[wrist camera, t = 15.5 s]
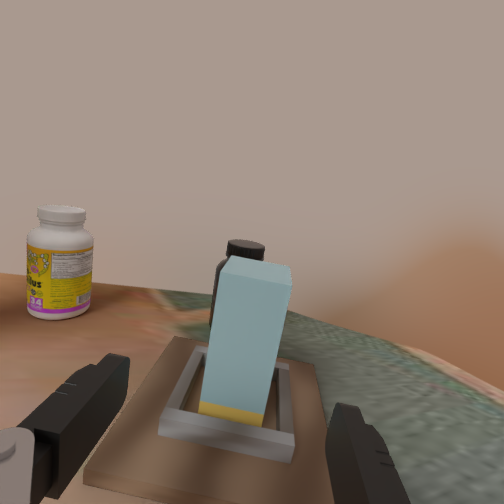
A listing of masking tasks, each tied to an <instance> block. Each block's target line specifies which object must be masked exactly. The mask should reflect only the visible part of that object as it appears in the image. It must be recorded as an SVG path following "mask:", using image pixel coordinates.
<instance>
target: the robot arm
mask: <svg viewBox="0 0 504 504" xmlns="http://www.w3.org/2000/svg"><path fill="white" fill-rule="evenodd" d="M129 367H130V358H129V357H125V356H121V355H116V354H111V353H109V354H107V355H106V356H105V357H104V358H103V359H102V360H101V361H100V362H99V363H98V364H97V365H93V364H89V365H87V366H85V367H84V368H82V369H80V370H78V371H76V372H75V373H74V374H73V375H71V376H70V377H69V378H68V379H67V380H66V381H65V383H64V384H62V385H61V386H60V387H59V388H58V389H56V391H55V393H52V394H51V395H50V396H49V397H48V398H47V399H46V400H45V401H44V402H43V403H41V404H40V405H39V406H38V407H37V408H36V409H35V410H34V411H33V412H32V413H31V414H30V415H29V416H28V417H26V418H25V419H24V420H23V421H22V422H21V423H20V424H19V425H18V426H17V427H14V428H7V429H3V430H0V504H39V503H40V502H41V501H42V499H43V498H44V497H49V498H53V499H57V500H58V499H59V497H60V496H61V494H62V493H63V491H64V490H65V489H66V487H67V486H68V484H69V483H70V481H71V480H72V478H73V477H74V476H75V474H76V473H77V471H78V470H79V468H80V467H81V465H82V464H83V462H84V461H85V460H86V458H87V457H88V455H89V454H90V452H91V451H92V449H93V448H94V447H95V445H96V444H97V442H98V441H99V439H100V438H101V436H102V435H103V434H104V432H105V431H106V429H107V428H108V426H109V425H110V423H111V422H112V421H113V419H114V418H115V416H116V415H117V413H118V412H119V410H120V409H121V407H122V405H123V403H124V401H125V398H126V395H127V388H128V378H129ZM325 455H326V460H327V466H328V471H329V477H330V482H331V487H332V493H333V498H334V503H335V504H411V503H410V501H409V498H408V496H407V494H406V491H405V489H404V487H403V484H402V482H401V479H400V477H399V475H398V472H397V470H396V469H395V468H394V466H395V465H394V463H393V461H392V458H391V456H389V451H388V449H387V447H386V444H385V442H384V440H383V438H382V437H381V436H380V434H379V433H378V432H377V431H376V429H375V428H374V427H373V426H372V425H368V424H365V422H364V419H363V417H362V414H361V411H360V409H359V408H358V407H357V406H352V405H347V404H343V403H336V405H335V408H334V411H333V414H332V418H331V421H330V424H329V428H328V431H327V434H326V440H325Z"/></svg>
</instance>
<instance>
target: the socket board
mask: <svg viewBox="0 0 504 504" xmlns="http://www.w3.org/2000/svg"><path fill="white" fill-rule="evenodd" d="M208 346H209V343H206V342H201V341H196V340H192V339H187V338H182V337H177V336H174V337H173V339H172V340H171V342H170V343H169V345H168V346H167V347H166V349H165V350H164V352H163V353H162V355H161V356H160V358H159V359H158V361H157V362H156V364H155V365H154V367H153V368H152V369H151V371H150V372H149V374H148V375H147V377H146V378H145V380H144V381H143V383H142V384H141V386H140V387H139V388H138V390H137V391H136V393H135V394H134V396H133V397H132V399H131V400H130V402H129V403H128V405H127V406H126V407H125V409H124V410H123V412H122V413H121V415H120V416H119V418H118V419H117V421H116V422H115V424H114V425H113V426H112V428H111V429H110V431H109V432H108V434H107V435H106V437H105V438H104V440H103V441H102V443H101V444H100V445H99V447H98V448H97V450H96V451H95V453H94V454H93V456H92V457H91V459H90V460H89V462H88V463H87V464H86V466H85V467H84V473H83V484H85V485H89V486H94V487H98V488H103V489H107V490H111V491H116V492H120V493H125V494H129V495H133V496H138V497H142V498H147V499H151V500H155V501H160V502H164V503H169V504H335V503H334V498H333V493H332V487H331V482H330V477H329V471H328V466H327V460H326V455H325V440H326V434H327V431H328V430H327V426H326V421H325V416H324V412H323V407H322V402H321V398H320V393H319V388H318V384H317V379H316V374H315V370H314V365H313V364H309V363H304V362H299V361H295V360H290V359H285V358H280V357H277V358H276V362H275V367H274V371H273V376H272V380H271V385H270V389H269V394H268V398H267V403H266V408H265V412H264V417H263V421H262V426H261V427H257V426H253V425H248V424H243V423H239V422H234V421H229V420H225V419H220V418H215V417H211V416H206V415H201V414H198V410H199V403H200V397H201V391H202V384H203V378H204V371H205V365H206V359H207V352H208Z"/></svg>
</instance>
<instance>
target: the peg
mask: <svg viewBox="0 0 504 504" xmlns="http://www.w3.org/2000/svg"><path fill="white" fill-rule="evenodd" d="M291 289H292V281H291V274H290V267H289V266H284V265H279V264H273V263H269V262H263V261H258V260H253V259H248V258H243V257H238V256H231V257H230V258H229V260H228V261H227V263H226V264H225V266H224V267H223V268H222V270H221V271H220V276H219V283H218V289H217V295H216V302H215V308H214V314H213V321H212V327H211V333H210V340H209V346H208V352H207V359H206V365H205V371H204V378H203V384H202V391H201V397H200V403H199V410H198V414H201V415H206V416H211V417H215V418H220V419H225V420H229V421H234V422H239V423H243V424H248V425H253V426H257V427H261V426H262V421H263V417H264V412H265V408H266V403H267V398H268V394H269V389H270V385H271V380H272V376H273V371H274V367H275V362H276V358H277V353H278V348H279V344H280V339H281V335H282V330H283V326H284V321H285V317H286V312H287V308H288V303H289V298H290V294H291Z"/></svg>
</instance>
